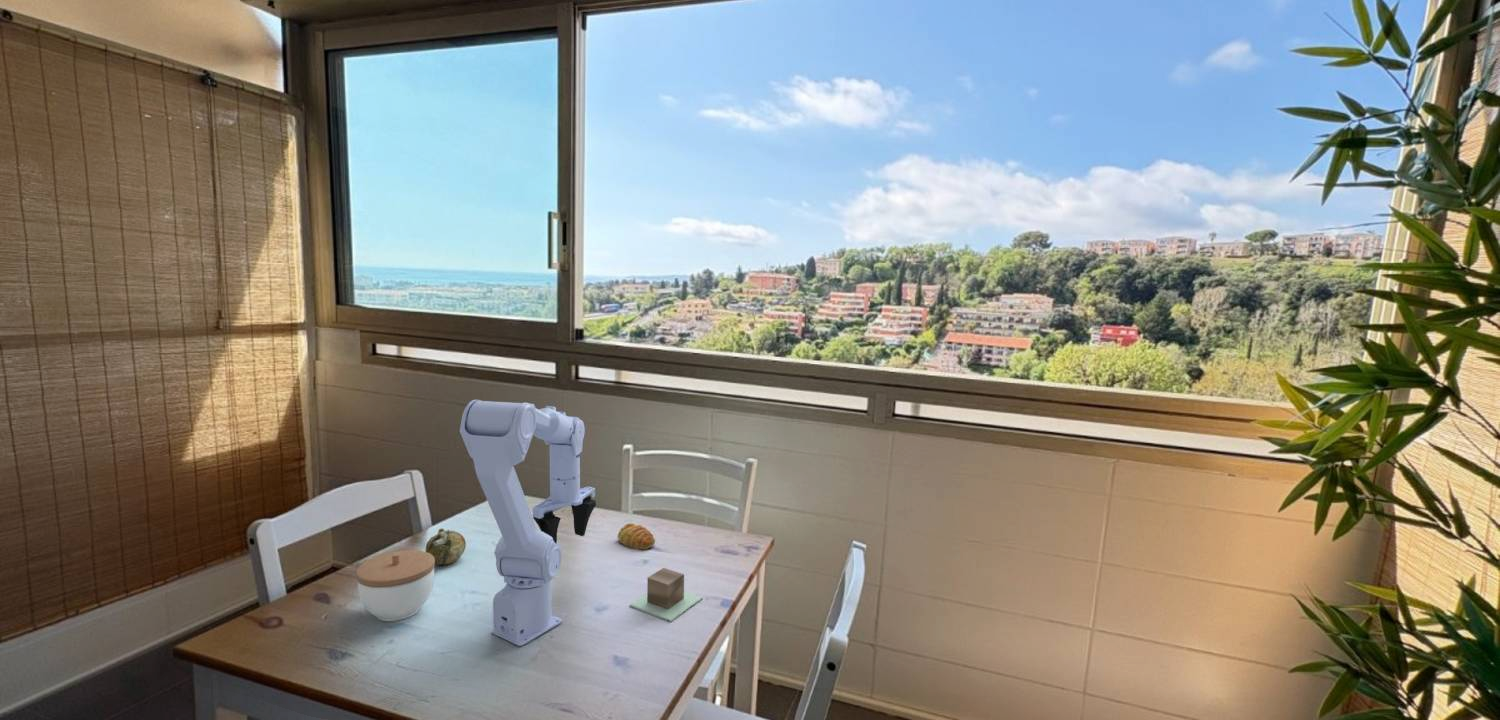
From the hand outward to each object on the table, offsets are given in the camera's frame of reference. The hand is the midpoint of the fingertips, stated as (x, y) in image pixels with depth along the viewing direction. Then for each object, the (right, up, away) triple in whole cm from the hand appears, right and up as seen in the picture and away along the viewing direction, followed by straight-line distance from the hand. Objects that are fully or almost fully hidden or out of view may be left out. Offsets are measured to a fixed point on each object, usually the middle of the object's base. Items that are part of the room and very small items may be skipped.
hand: (565, 541), depth 128 cm
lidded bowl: (-28, -10, -10) cm, 31 cm away
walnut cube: (+21, -10, -4) cm, 23 cm away
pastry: (+10, -7, +23) cm, 26 cm away
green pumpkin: (-29, -8, +10) cm, 31 cm away
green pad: (+21, -11, -4) cm, 24 cm away
